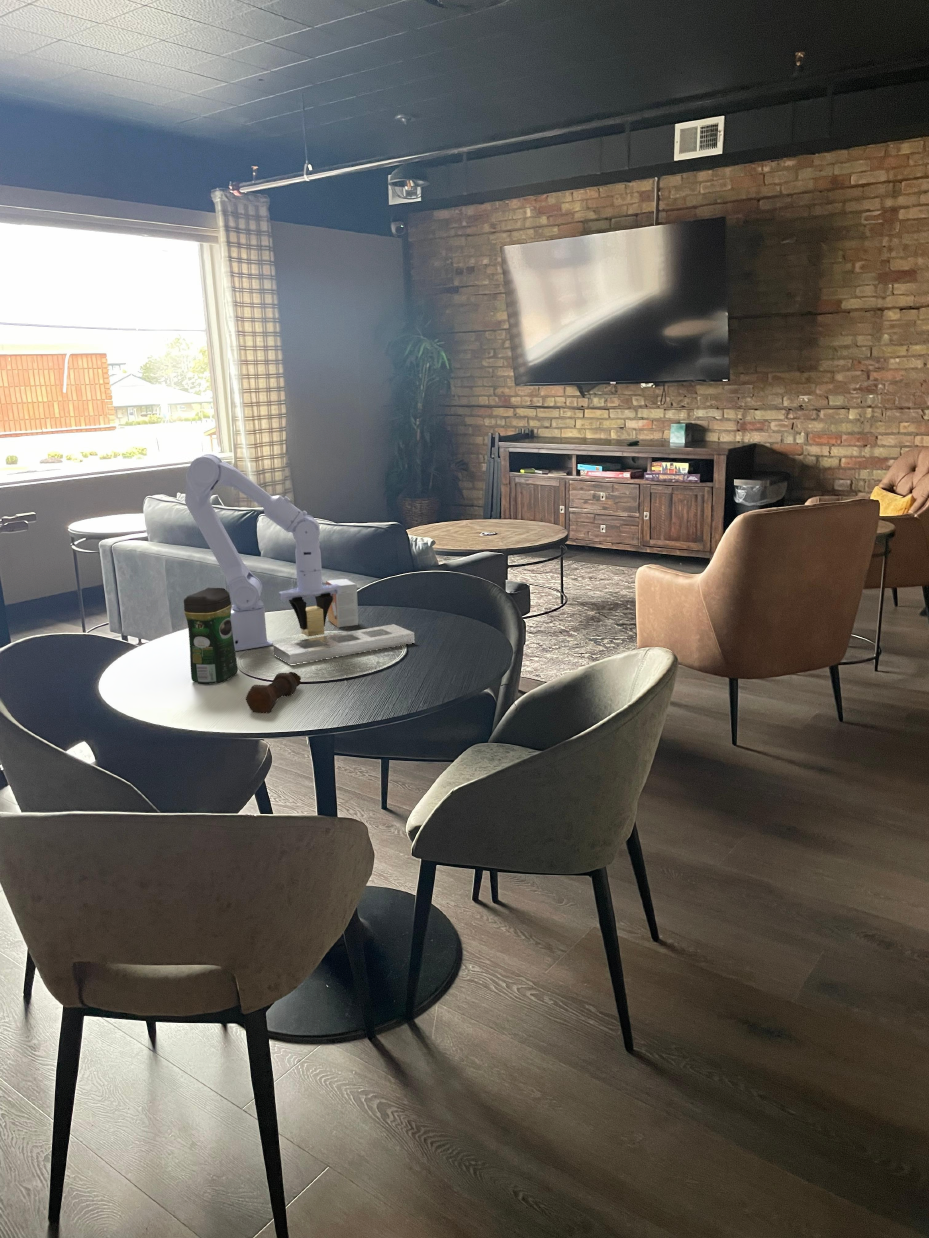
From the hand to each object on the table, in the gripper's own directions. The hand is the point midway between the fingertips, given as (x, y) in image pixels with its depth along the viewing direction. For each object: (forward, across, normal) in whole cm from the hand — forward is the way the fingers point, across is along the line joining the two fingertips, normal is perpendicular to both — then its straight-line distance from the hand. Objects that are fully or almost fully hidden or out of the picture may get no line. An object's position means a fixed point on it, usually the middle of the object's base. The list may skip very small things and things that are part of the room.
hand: (312, 627), depth 213 cm
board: (+3, +3, -11) cm, 12 cm away
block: (+2, 0, 0) cm, 2 cm away
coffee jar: (+4, -28, -15) cm, 32 cm away
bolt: (+4, -22, -36) cm, 42 cm away
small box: (+3, +13, +12) cm, 18 cm away
